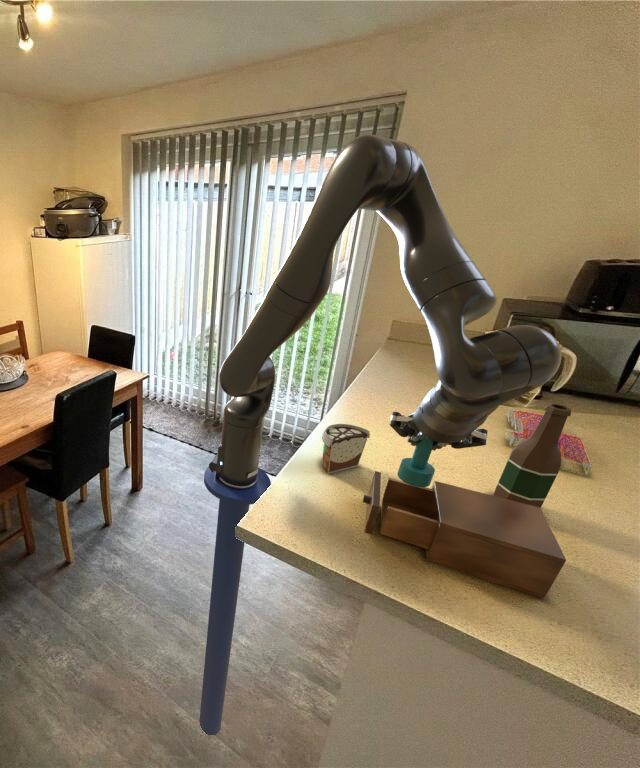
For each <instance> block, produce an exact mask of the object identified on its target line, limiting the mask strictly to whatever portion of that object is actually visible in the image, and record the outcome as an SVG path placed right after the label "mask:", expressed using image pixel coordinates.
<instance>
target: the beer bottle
mask: <svg viewBox="0 0 640 768" xmlns="http://www.w3.org/2000/svg"><path fill="white" fill-rule="evenodd" d="M543 409H544V413H543V414H542V415H543V417H542V418H541V417H540V418H541V420H540V422H539V424H538V425H537V426H536V427H535V428H536V429H535V431H534V432H533V434H532V435H531V434H530V435H531V436H529V438H525V439H523V441H521V442H519V443H518V444H517V445H516V444H515V445H514V447H513V449H512V450H511V452H510V454H509V456H508V459H507V461H506V463H505V466H504V468H503V470H502V473H501V475H500V478H499V480H498V482H497V484H496V487H495V489H494V492H493V495H492V496H496V497H500V498H504V499H508V500H512V501H516V502H520V503H524V504H528V505H531V506H535V507H539V508H541V509H542V506H543V504H544V502H545V501H546V499H547V496H548V494H549V492H550V490H551V488H552V487H553V484H554V482H555V480H556V478H557V476H558V474H559V472H560V470H561V468H562V466H561V464H562V462H563V460H562V459H563V458H561V457H562V456H561V453H562V452H561V451H560V449H559V447H558V440H559V439H560V435H561V433H563V430H564V427H565V424H566V422H567V419H568V417H571V416H572V408H570V407H568V406H566V405H563V404H559V403H547V405H546V406H545V407H544V408H543ZM561 461H562V462H561ZM560 467H561V468H560Z"/></svg>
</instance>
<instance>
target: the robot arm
mask: <svg viewBox="0 0 640 768" xmlns="http://www.w3.org/2000/svg"><path fill="white" fill-rule="evenodd" d="M358 210H365V211H375V212H376V213H377V214H379V215H380V216H381V217H382V219H383V220H384V221H385V222H386V223H387V224H388V225H389V226H390V228H391V229H392V231H393V232H394V235H395V236H396V237H395V238H396V239H397V241H398V242H397V243H398V249H399V267H400V272H401V277H402V279H403V282H404V285H405V287H406V289H407V290H408V292H409V294H410V296H411V298H412V299H413V301H414V303H415V305H416V306H417V308H418V310H419V311H420V313H421V315H422V317H423V318H424V321H425V323H426V326H427V330H428V333H429V337H430V341H431V345H432V350H433V355H434V356H433V357H434V363H435V369H436V373H437V377H438V381H437V382H436V384H435V385H434V386H433V387H432V388H431V389H430V390H429V391H428V392H427V393H426V394H425V396H424V398H423V399H422V401H421V402H420V404H419V405H418V407H417V408H416V410H415V412H412V413H409V414H408V416H406V415H404V414H402V413H400V412H399V411H392V412H391V415H390V421H389V426H390V427H391V428H392V429H393V430H394V431H395V432H396V433H397V435H398V436H399V437H402V438H407V443H410V446H413V447H416V444H417V443H418V442H419V440H424V439H425V438H429V439H431V440H434V441H435V443H434V446H433V448H432V451H434V452H435V451H436V450H442V449H443V448H445V447H447V446H450V448H453V449H455V450H460V449H467V448H474V447H484V446H486V445H487V440H488V429H485V428H480V427H481V426H482V425H484V423H485V422H486V420H487V419H488V418H489V416H490V415H491V414H493V413H494V412H495V411H496V410H497V409H498V408H499V407H500V406H502V405H504V404H506V403H508V402H511V401H513V400H515V399H517V398H520V397H522V396H524V395H526V394H528V393H530V392H533V391H534V390H536V389H538V388H540V387H542V386H543V385H544V384H546V383H547V382H548V381H549V382H550V380H551V379H552V378H554V376H555V374H556V373H557V372H558V370H559V368H560V367H561V366H560V365H561V362H562V349H561V346H560V344H559V342H558V340H557V339H556V338H555V336H553V334H551V333H550V332H549V331H547V330H545V329H543V328H540V327H538V326H534V325H527V324H519V325H512V326H511V325H510V326H506V327H503V328H500V329H496V330H493V331H490V332H486V333H483V334H479V335H476V336H473V337H469V338H468V337H467V334H466V333H465V326H468V325H470V324H472V323H473V322H475V321H477V320H479V319H480V318H481V319H482V318H483V317H485V316H486V315H487V314H489V313H490V312H491V311H492V310H494V308H495V307H496V305H497V303H498V297H497V294H496V292H495V290H494V289H493V287H492V286H491V284H490V283H489V282H488V280H487V278H486V277H485V276H484V275H483V273H482V271H481V269H480V268H479V267H478V266H477V264H476V263H475V260H473V258H472V257H471V256H470V254H469V253H468V251H467V250H466V248H465V247H464V246H463V244H462V242H461V240H460V239H459V237H458V236H457V234H456V232H455V231H454V229H453V228H452V225H451V224H450V221H449V220H448V218H447V216H446V214H445V212H444V210H443V207H442V206H441V202H440V201H439V198H438V196H437V194H436V192H435V190H434V186H433V184H432V182H431V179H430V175H429V173H428V170H427V168H426V165H425V163H424V161H423V159H422V157H421V154H420V153H419V151H418V150H417V149H416V147H414V146H413V145H411V144H409V143H407V142H405V141H401V140H396V139H392V138H388V137H385V136H380V135H377V134H367V133H366V134H362V135H358V136H356V137H355V138H353V139H352V140H349V142H348V143H347V144H346V145H345V146H344V147H343V148H342V149H341V150H340V152H339V153H338V154H337V156H336V157H335V159H334V160H333V162H332V163H331V165H330V168H329V169H328V171H327V173H326V175H325V177H324V180H323V182H322V184H321V186H320V189H319V191H318V193H317V195H316V196H315V199H314V201H313V204H312V207H311V209H310V210H309V213H308V214H307V217H306V219H305V222H304V224H303V226H302V228H301V230H300V232H299V234H298V236H297V238H296V240H295V241H294V243H293V245H292V247H291V249H290V250H289V253H288V255H287V257H286V259H285V260H284V262H283V264H282V265H281V267H280V269H279V271H278V272H277V273H276V275H275V277H274V279H273V281H272V282H271V284H270V285H269V288H268V289H267V291H266V292H265V295H264V297H263V299H262V301H261V303H260V305H259V307H258V308H257V310H256V311H255V313H254V315H253V317H252V319H251V320H250V322H249V323H248V326H247V327H246V329H245V331H244V333H243V334H242V336H241V337H240V339H239V340H238V342H237V343H236V344H235V345H234V347H233V348H232V350H231V351H230V353H229V354H228V355H227V357H226V358H225V359H224V361H223V363H222V365H221V367H220V370H219V384H220V387H221V389H222V392H224V394H226V395H228V396H229V397H231V399H230V400H229V401H227V402H226V404H225V406H224V409H223V417H222V428H221V429H222V430H221V441H220V444H219V445H218V447H217V454H215V456H214V457H213V459H212V460H211V461H210V462H209V464H208V466H209V468H210V470H211V472H214V471H216V480H219V481H220V482H221V483H222V484H223V485H225V486H227V487H229V488H231V489H235V490H247V489H250V488H252V487H254V486H255V484H256V481H257V473H258V467H259V461H260V456H261V449H262V440H263V433H264V425H265V418H266V415H267V414H268V412H269V410H270V409H271V403H272V399H273V394H274V393H273V392H274V389H275V382H276V368H275V367H276V366H275V364H274V361H273V359H272V357H271V356H272V354H274V352H275V351H276V350H278V349H279V348H280V347H281V346H282V345H284V343H286V342H287V341H288V340H290V338H292V337H293V336H294V335H295V334H296V333H298V331H299V330H300V329H301V328H303V326H305V324H306V323H307V322H308V321H309V320H310V319H311V318H312V316H313V315H314V313H315V311H317V309H318V307H319V306H320V304H321V303H322V301H323V300H324V299H325V297H326V295H327V293H328V291H329V289H330V287H331V282H332V275H333V274H332V273H333V264H334V263H333V262H334V255H335V254H334V253H335V249H336V246H337V243H338V241H339V239H340V237H341V235H342V234H343V232H344V231H345V229H346V227H347V226H348V224H349V222H350V221H351V219H352V218H353V217H354V215H355V214H356V213H357V211H358Z"/></svg>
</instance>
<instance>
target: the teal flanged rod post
mask: <svg viewBox="0 0 640 768" xmlns="http://www.w3.org/2000/svg"><path fill="white" fill-rule="evenodd" d="M434 443H435V441H434V440H431V439H429V438H425V439H424V440H419V442H418V443H417V444H416V446H414V450H413V454H412V457H405V458H402V459H401V461H400V464H399V467H398V471H397V474H396V475H397V477H398V478H399V480H400V481H404V482H405V483H407V484H410V485H412V486H416V487H426V488H428V487H429V486H430V485H431V483H432V481H433V477H434V475H435V472H436V469H435V467H434V466H433V465H432V464H431V463H429V460H430V457H431V454H432V452H433V450H432V448H433V446H434Z"/></svg>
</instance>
